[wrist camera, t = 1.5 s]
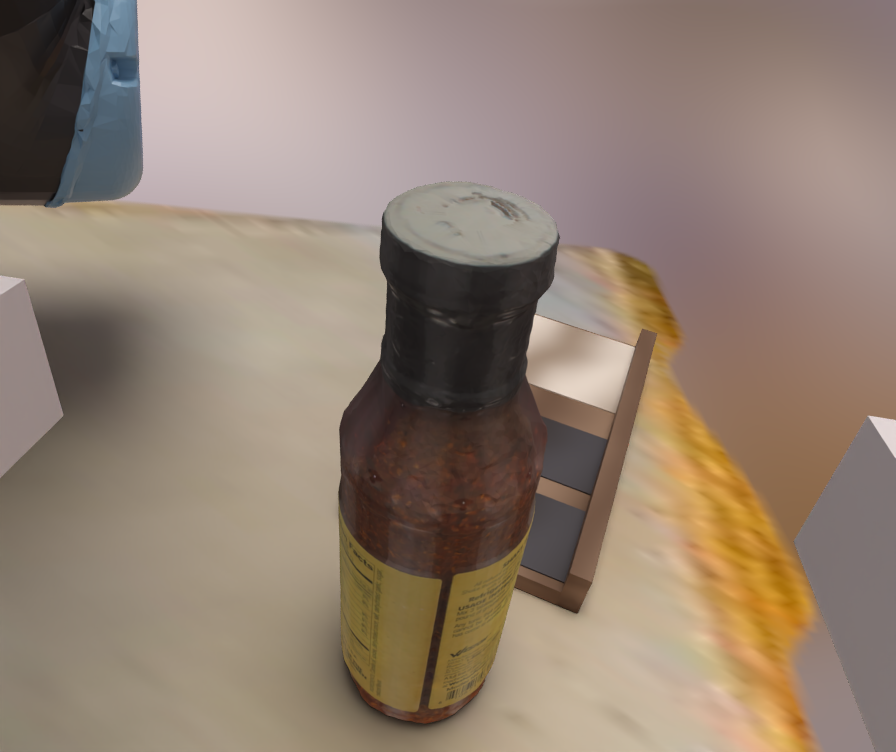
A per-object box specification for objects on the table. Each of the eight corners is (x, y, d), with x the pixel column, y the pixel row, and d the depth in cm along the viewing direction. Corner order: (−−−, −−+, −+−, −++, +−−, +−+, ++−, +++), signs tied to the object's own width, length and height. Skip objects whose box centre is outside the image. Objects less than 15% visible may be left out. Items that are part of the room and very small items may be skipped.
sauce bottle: (482, 590, 30) (604, 173, 18) (496, 734, 25) (675, 304, 13) (337, 585, 29) (356, 146, 17) (323, 732, 25) (335, 274, 12)
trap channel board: (341, 514, 32) (343, 480, 31) (482, 309, 48) (488, 279, 46) (577, 613, 30) (592, 582, 28) (645, 362, 46) (657, 333, 44)
